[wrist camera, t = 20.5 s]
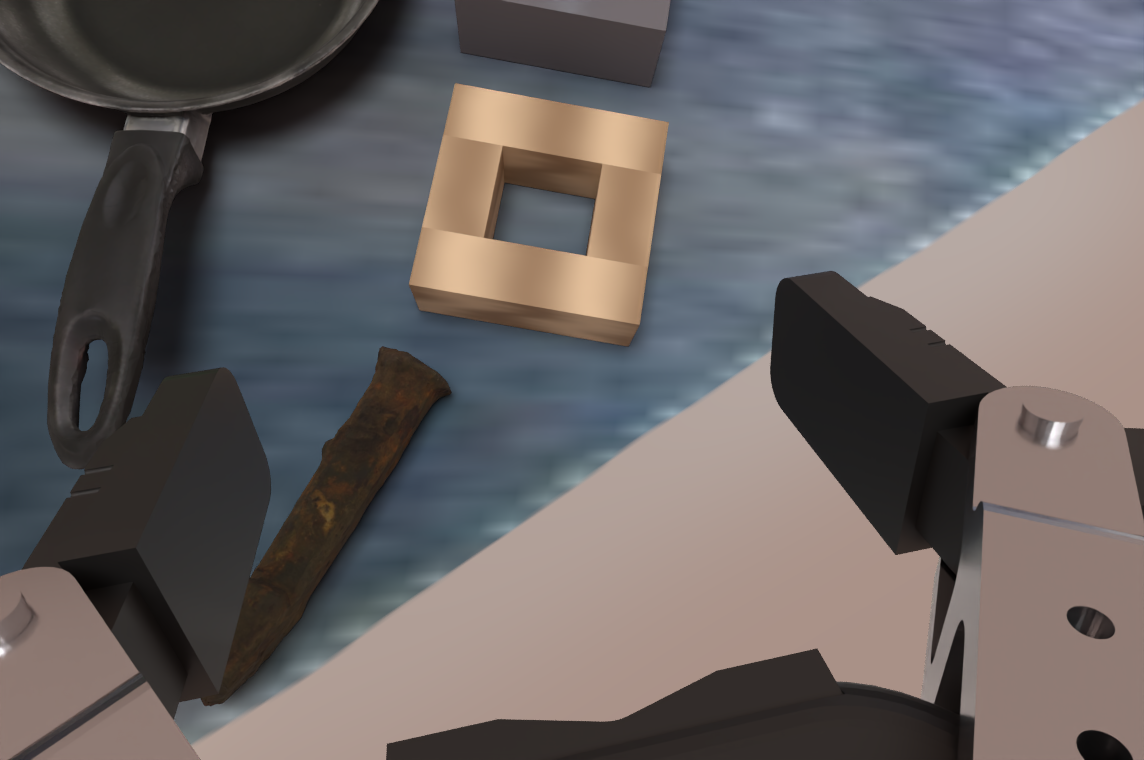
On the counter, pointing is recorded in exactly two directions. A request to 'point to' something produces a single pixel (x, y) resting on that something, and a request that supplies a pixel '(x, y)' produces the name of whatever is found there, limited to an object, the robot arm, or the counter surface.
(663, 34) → the holder block
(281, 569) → the hand tool
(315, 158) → the counter surface
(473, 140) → the square frame block
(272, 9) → the frying pan
